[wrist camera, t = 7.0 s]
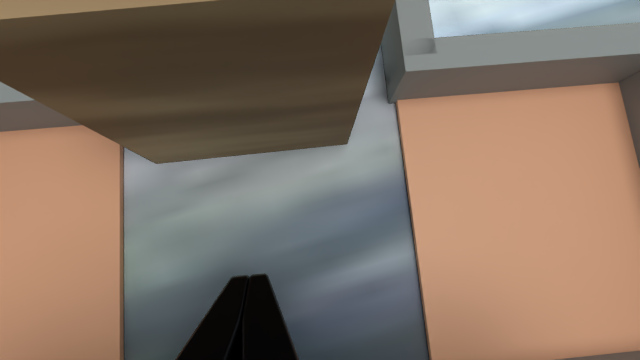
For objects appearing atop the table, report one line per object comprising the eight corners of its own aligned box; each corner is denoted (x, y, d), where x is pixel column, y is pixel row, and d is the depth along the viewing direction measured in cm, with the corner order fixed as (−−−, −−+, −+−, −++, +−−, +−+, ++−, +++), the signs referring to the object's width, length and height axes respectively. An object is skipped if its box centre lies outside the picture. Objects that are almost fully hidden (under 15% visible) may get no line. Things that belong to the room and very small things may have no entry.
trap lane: (712, 373, 15) (916, 438, 10) (-186, 471, 13) (-474, 600, 9) (561, -226, 20) (646, -385, 15) (-104, -192, 18) (-256, -352, 13)
